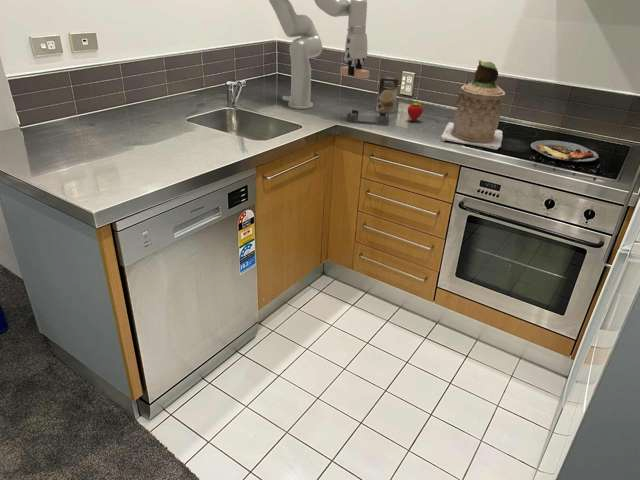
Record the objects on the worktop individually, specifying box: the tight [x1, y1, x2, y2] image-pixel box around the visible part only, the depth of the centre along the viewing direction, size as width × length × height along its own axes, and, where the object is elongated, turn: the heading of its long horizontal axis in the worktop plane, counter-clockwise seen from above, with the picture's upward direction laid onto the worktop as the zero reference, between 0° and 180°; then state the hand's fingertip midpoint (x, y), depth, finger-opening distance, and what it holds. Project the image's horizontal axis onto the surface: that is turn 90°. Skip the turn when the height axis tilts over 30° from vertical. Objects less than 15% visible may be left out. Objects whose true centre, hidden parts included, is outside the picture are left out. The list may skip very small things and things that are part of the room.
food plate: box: [530, 139, 600, 163], centre depth 196 cm, size 25×23×4 cm
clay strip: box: [339, 65, 370, 80], centre depth 216 cm, size 4×14×3 cm, turn 43°
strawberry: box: [407, 99, 424, 122], centre depth 225 cm, size 6×8×10 cm
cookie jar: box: [440, 59, 506, 151], centre depth 202 cm, size 25×25×32 cm
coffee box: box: [375, 75, 400, 114], centre depth 237 cm, size 9×6×16 cm
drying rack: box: [345, 109, 390, 127], centre depth 224 cm, size 19×10×4 cm, turn 80°
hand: (354, 74), depth 217 cm, fingers closed on clay strip, 4 cm apart
